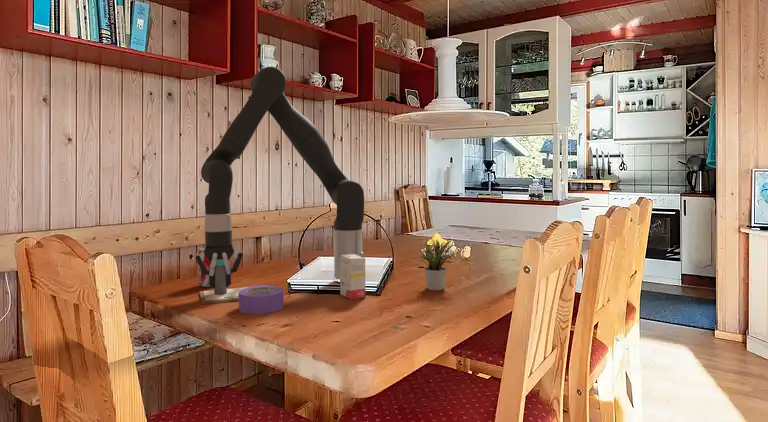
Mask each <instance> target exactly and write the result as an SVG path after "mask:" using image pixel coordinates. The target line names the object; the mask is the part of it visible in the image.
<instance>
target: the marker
mask: <svg viewBox="0 0 768 422" xmlns="http://www.w3.org/2000/svg"><path fill="white" fill-rule="evenodd" d="M214 277H215V288H214V289H213V290H214V294H225V293H227V289H228V287H226V269H225V264H224V260H223V259H216V265H215V269H214Z"/></svg>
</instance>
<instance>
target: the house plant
mask: <svg viewBox="0 0 768 422" xmlns="http://www.w3.org/2000/svg"><path fill="white" fill-rule="evenodd" d="M432 238H433V239H432ZM432 238H431V237H429V239H430V240H431V241H432V244H433V247H434V251H432V249H431V248H430V245H428V243H426V242H425V241H424V240H420V241H421V242H422V243H423V245H424V246H425V248H423V247H422V249H423V250H424V253H425V255H420V254H417V256H418V257H420V258H422V259H418V260H417V262H423V263H425V264H426V265H427V266H426V267H424V269H423V270H424V276H425V282H426V288H427V289H428V290H430V291H442V290H444V289H445V285H446V279H447V273H448V268H447V267H444V266H443V265H444V263H448V264H452V262H451V261H454V258H452V257H450V256H451V255H454V253H449V254H447V253H448V252H449V250H450V249H451V248H452V247H454V246H455V245H457V244H459V242H456V243H452V244H451V245H449V244H450V243H451V242H453V241H454V239H451V240H448V241H447V242H446V243H445V241H443V242H442V243H441V244H440V241H439V240H438V239H436V240H435V239H434V237H432ZM444 243H445V244H444ZM448 245H449V246H448ZM418 246H419V247H421V245H420V244H418ZM447 246H448V248H447ZM446 248H447V249H446ZM423 259H424V260H426V261H424V260H423ZM448 260H451V261H448Z"/></svg>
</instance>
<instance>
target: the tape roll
mask: <svg viewBox="0 0 768 422" xmlns="http://www.w3.org/2000/svg"><path fill="white" fill-rule="evenodd" d="M243 288H244V287H243ZM238 294H239V301H238V311H239V312H241V313H244V314H249V315H263V313H265V314H270V313H271V312H272V313H275V312H279V311H281V310H283V309H284V308H285V307H284V306H285V305H284V301H285V300H284V288H283V287H281V286H277V285H264V284H263V285H255V286H248V288H244V289H242V290H240V291H239V292H238Z"/></svg>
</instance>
